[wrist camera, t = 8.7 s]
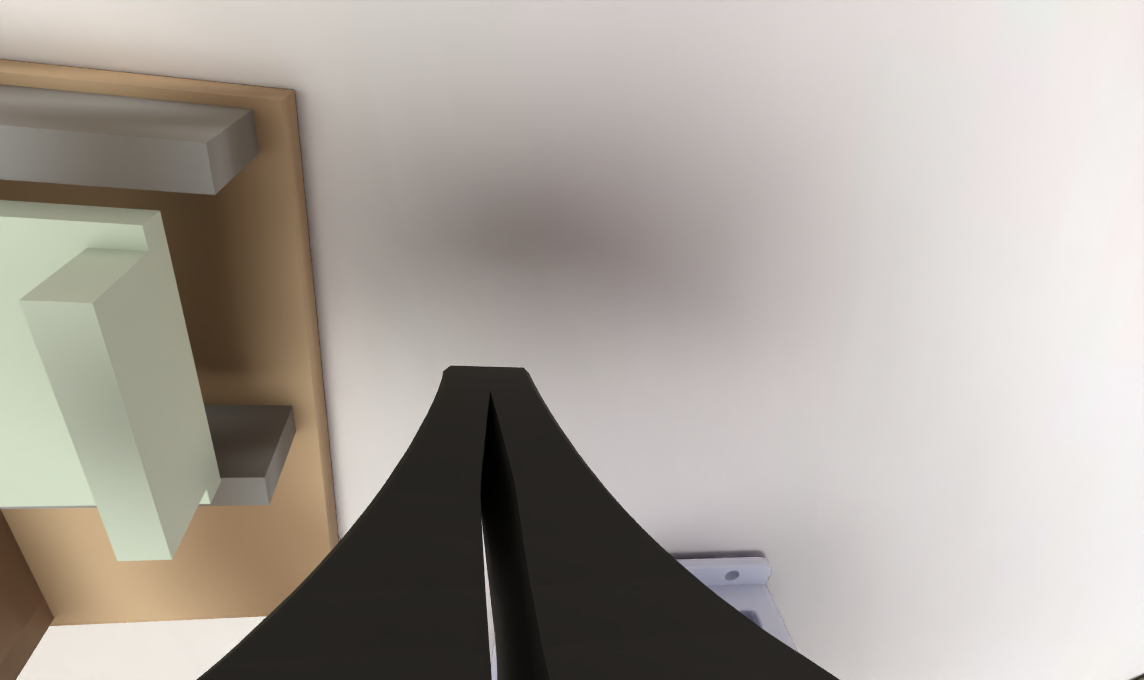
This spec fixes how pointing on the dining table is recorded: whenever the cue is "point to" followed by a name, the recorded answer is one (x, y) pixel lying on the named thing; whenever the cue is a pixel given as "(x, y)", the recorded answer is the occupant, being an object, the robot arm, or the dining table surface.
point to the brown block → (18, 607)
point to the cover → (99, 375)
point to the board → (192, 329)
